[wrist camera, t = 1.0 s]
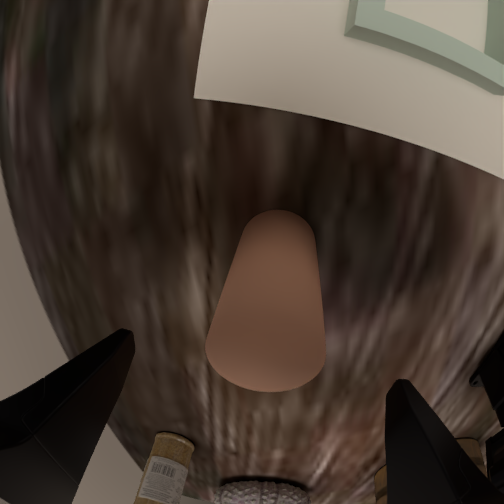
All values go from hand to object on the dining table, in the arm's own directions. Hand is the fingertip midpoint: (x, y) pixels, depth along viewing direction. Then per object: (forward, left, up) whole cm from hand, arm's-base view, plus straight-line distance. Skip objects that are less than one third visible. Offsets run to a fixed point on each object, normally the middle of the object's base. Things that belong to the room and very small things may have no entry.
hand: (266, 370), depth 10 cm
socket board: (-5, -15, -9) cm, 18 cm away
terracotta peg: (0, 0, -9) cm, 9 cm away
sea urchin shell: (-6, +38, -9) cm, 39 cm away
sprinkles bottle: (+6, +26, -9) cm, 28 cm away
